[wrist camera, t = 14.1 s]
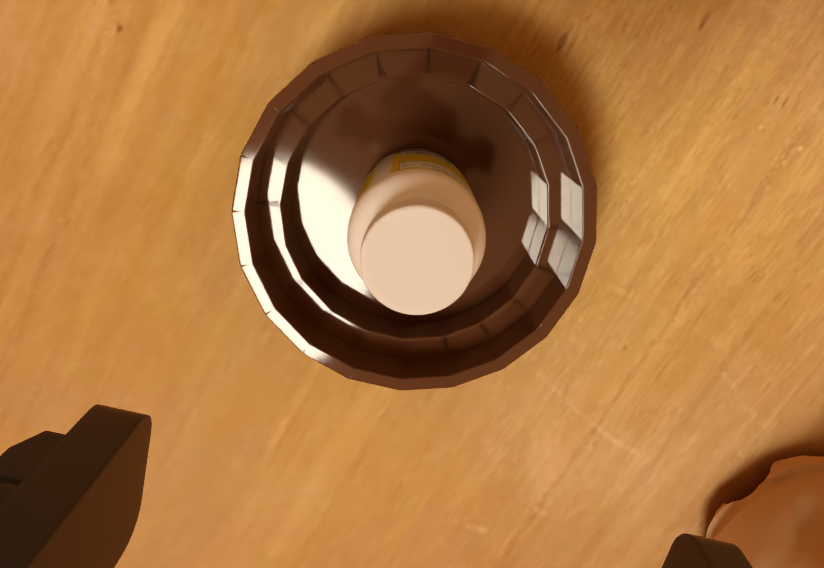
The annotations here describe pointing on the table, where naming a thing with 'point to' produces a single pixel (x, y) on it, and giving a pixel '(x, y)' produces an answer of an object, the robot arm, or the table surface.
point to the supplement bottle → (416, 232)
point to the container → (779, 517)
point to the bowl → (348, 168)
